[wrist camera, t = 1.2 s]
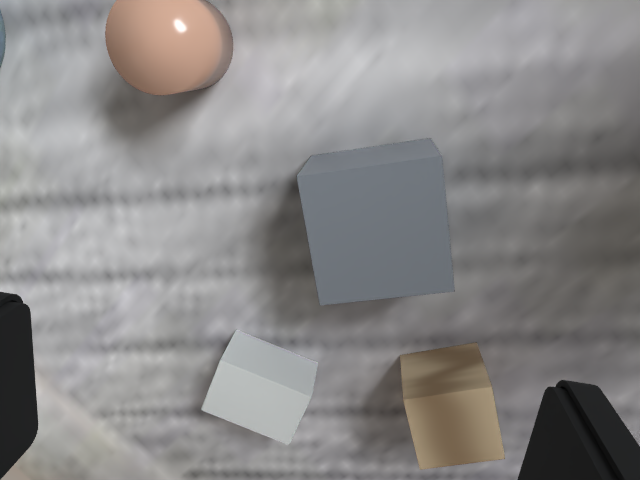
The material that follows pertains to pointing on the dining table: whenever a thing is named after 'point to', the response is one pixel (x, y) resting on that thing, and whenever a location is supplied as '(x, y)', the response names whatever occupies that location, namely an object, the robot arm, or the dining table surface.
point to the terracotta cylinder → (168, 44)
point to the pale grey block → (261, 387)
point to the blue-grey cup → (2, 39)
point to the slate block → (377, 222)
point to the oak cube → (450, 407)
